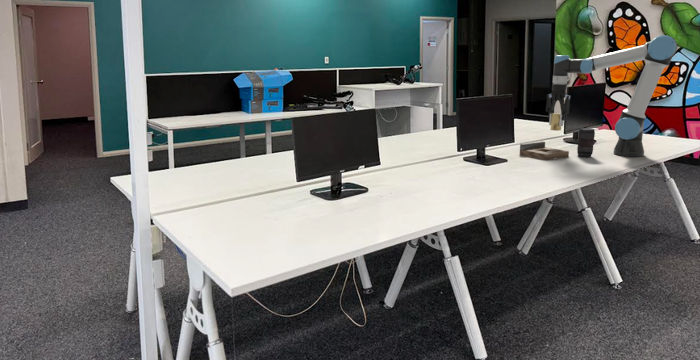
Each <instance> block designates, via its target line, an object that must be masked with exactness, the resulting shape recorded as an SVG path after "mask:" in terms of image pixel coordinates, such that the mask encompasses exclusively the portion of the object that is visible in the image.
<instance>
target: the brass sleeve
mask: <svg viewBox="0 0 700 360" xmlns="http://www.w3.org/2000/svg"><path fill="white" fill-rule="evenodd" d="M561 114H562V113H557V112H555V113H554V112H553V113H552V117H551V125H550V130H551V131H554V132H555V131H556V132H557V131H562V126H559V123H560V115H561Z"/></svg>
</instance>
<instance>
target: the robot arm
mask: <svg viewBox="0 0 700 360" xmlns="http://www.w3.org/2000/svg"><path fill="white" fill-rule="evenodd" d="M677 51H678V43H677V40H675V38H673V37H672V36H670V35H665V34H661V35H657V36H656V37H654V38H653V39H652V40H651V41H647V42H645V44H643V45H638V46H634V47H630V48H625V49H621V50H616V51H613V52H608V53H603V54H600V55H596V56H592V57H588V58H587V57H586V58H570V55H568V54H567V55H564V54H562V55H561V54H559V55H555V56H554V62H553V72H552V73H553V74H552V84H551V85H552V86H551V93H549V94H546V103H545V104H546V105H545V113H548V117H547V118H548V120H549V121H548V126H551V117H552V113H554V109H555V107H556V104H557V102H558V103H559V107H560V111H561V113H560V114H561V115H560V123H559V126H561V127H564V121H566V115H568V114H569V113H570V106H571V105H570V101H571V97H572V96H571V95H568V94H567V88H568V87H567V83H568V76H569V74H591V73H592V72H594V71H598V70H603V69H608V68H612V67H616V66H617V67H618V66H622V65H626V64H631V63H635V62H639V61H644V62H645V63H644V64H645V65H644V67H643V70H642V72H641V74H640V77H639V79H638V81H637V84H636V86H635V89H634V91H633V93H632V96H631V98H630V100H629V103H628V105H627V108H625V109H623V110H622V112H621V113H620V117H619V119H618V120H617V122H616V123H615V125H614V131H615V134H616V136H618V140H617V142H616V144H615V146H614V149H613V155H617V156H621V157H630V158H631V157H643V156H644V155H645V150H644V149H645V148H644V145H643V137H644V136H643V135H644V128H645V127H644V126H645V121H646V118H647V116H646V115H645V113H646V110H647V107H648V106H649V103H650V101H651V98H652V96H653V94H654V91H655V89H656V88H657V85H658V83H659V80H660V77H661V76H662V73H663V71H664V70H665V68H668V67H669V66H670V63H671V62H672V59H673V56H674V55H675V54H676V52H677Z"/></svg>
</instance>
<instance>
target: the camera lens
mask: <svg viewBox="0 0 700 360" xmlns="http://www.w3.org/2000/svg"><path fill="white" fill-rule="evenodd" d="M595 134H596V132H595V128H579V130H578V135H577V138H578V139H577V149H576V151H577V152H576V153H577V156H578V158H583V159H584V158H585V159H586V158H591V157H592V155H593V152H594V145H595V141H594V140H595V136H596V135H595Z"/></svg>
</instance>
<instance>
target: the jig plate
mask: <svg viewBox="0 0 700 360" xmlns="http://www.w3.org/2000/svg"><path fill="white" fill-rule="evenodd" d="M569 154H570V151H569V150H562V149H559V148H558V149H557V148H552V147H546V141H534V142H525V143H520V144H519V156H524V157H529V158H533V159H534V158H535V159H539V160H544V161H550V160H556V159H562V158H568V157H569Z"/></svg>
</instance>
